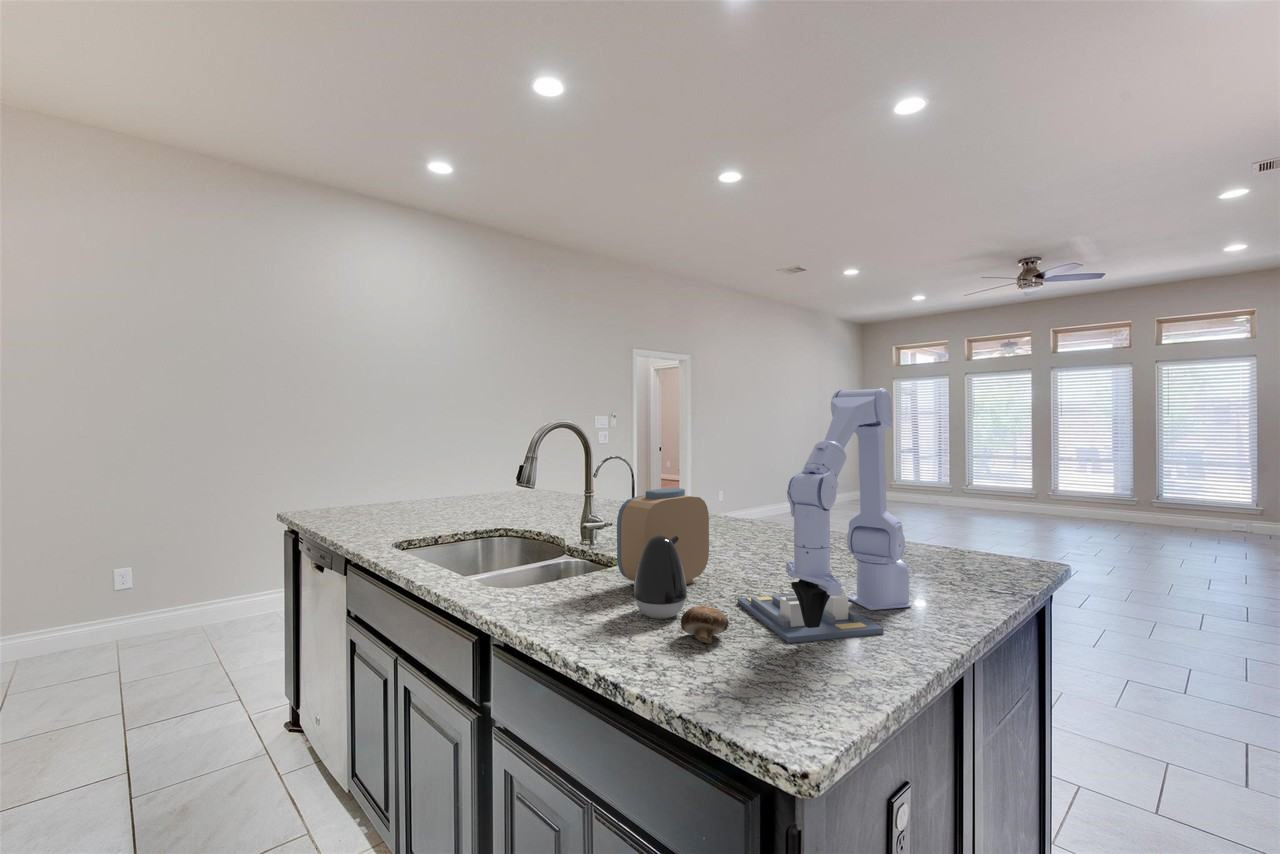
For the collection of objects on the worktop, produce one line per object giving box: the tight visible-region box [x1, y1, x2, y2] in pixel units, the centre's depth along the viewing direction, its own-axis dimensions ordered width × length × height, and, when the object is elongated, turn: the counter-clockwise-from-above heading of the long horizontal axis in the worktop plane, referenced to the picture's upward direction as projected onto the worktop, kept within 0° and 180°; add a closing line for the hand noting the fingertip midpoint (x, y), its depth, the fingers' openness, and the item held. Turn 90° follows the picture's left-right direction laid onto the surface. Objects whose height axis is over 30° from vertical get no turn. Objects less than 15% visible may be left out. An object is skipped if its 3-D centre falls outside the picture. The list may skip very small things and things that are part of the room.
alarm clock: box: [616, 487, 710, 586], centre depth 132 cm, size 21×10×22 cm, turn 133°
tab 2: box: [824, 590, 849, 620], centre depth 106 cm, size 3×4×5 cm
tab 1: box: [780, 596, 805, 627], centre depth 103 cm, size 3×4×5 cm
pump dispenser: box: [633, 536, 688, 620], centre depth 111 cm, size 10×10×15 cm
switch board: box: [737, 593, 884, 644], centre depth 109 cm, size 18×22×2 cm
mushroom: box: [680, 605, 730, 645], centre depth 98 cm, size 8×8×6 cm
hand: (812, 626), depth 96 cm, fingers closed
